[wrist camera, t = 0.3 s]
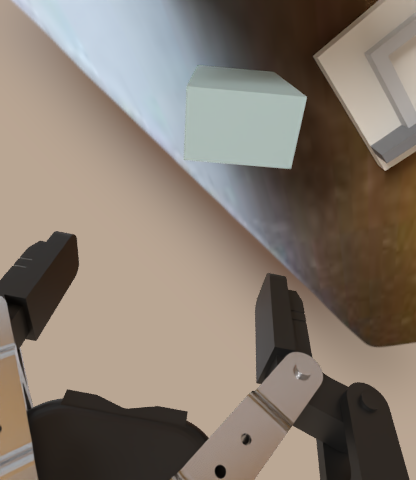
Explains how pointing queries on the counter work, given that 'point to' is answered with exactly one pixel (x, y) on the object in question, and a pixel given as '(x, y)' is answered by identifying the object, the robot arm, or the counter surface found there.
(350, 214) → the counter surface
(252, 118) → the carton
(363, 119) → the white holder tray
